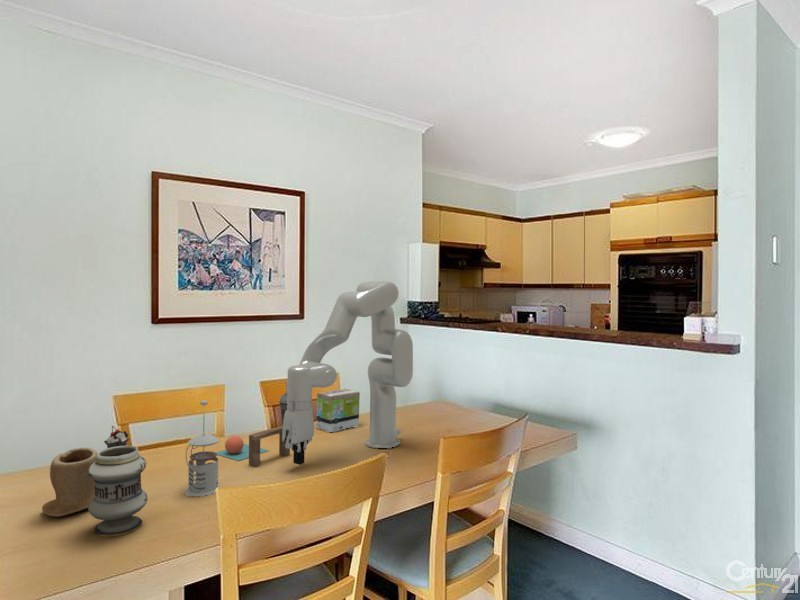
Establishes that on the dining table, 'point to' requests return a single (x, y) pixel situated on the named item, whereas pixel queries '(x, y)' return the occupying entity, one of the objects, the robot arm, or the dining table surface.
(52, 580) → the dining table surface
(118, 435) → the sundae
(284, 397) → the beverage cup
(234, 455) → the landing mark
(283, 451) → the bridge
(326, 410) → the tea box
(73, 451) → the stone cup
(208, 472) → the french press
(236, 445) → the ball
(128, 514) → the apothecary jar
